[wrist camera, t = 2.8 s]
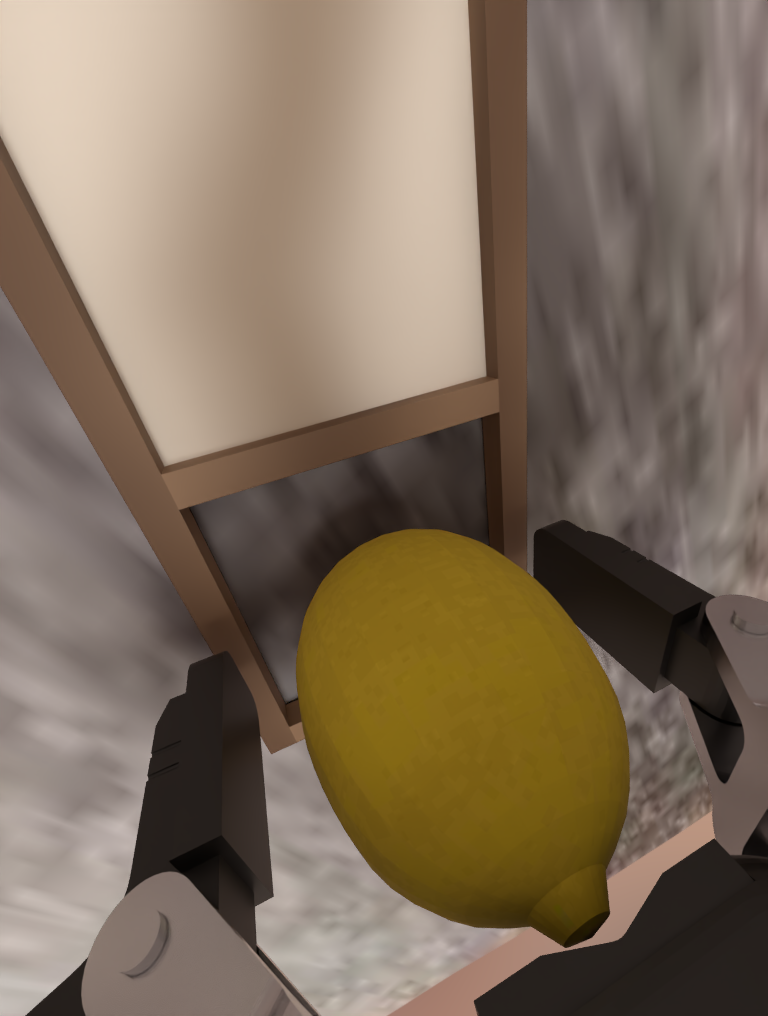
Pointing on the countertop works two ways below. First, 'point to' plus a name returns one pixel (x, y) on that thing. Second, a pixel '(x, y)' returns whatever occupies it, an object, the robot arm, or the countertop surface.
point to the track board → (269, 249)
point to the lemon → (465, 734)
